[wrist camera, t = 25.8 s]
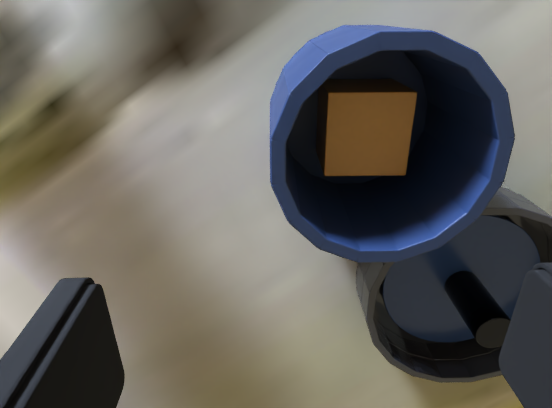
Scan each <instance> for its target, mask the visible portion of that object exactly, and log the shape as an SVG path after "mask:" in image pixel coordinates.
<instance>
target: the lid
mask: <svg viewBox="0 0 552 408" xmlns="http://www.w3.org/2000/svg"><path fill="white" fill-rule="evenodd" d="M538 263H540V256H539V252H538V249H537V247H536V245H535V243H534V241H533V240H532V238H531V237H530V235H529V234H528V233H527V232H526V231H525V230H524V229H522V228H521V227H520V226H519V225H517V224H516V223H514V222H513V221H511V220H509V219H507V218H505V217H502V216H499V215H481V216H480V217H479V218H478V219H477V220H476V221H475V222H474V223H473V224H471V225H470V226H469V227H467V228H466V229H465V230H463V231H462V232H461V233H459V234H458V235H457V236H455V237H454V238H453V239H451V240H450V241H448V242H447V243H446V244H444V245H443V246H442V247H440V248H438V249H435V250H432V251H429V252H426V253H423V254H420V255H418V256H415V257H412V258H409V259H406V260H403V261H399V262H395V263H394V264H393V265H392V266H391V267H390V268H389V270H388V272H387V274H386V276H385V278H384V280H383V282H382V289H381V290H382V298H383V301H384V305H385V307H386V309H387V312H388V314H389V315H390V317H391V318H392V320H393V321H394V322H395V323H396V324H397V325H398V326H399V327H400V328H402V329H403V330H404V331H406V332H407V333H409V334H411V335H413V336H415V337H418V338H420V339H424V340H428V341H434V342H458V341H465V340H469V339H473V338H475V339H476V341H477V342H478V343H479V344H480V345H481V346H484V347H487V348H495V347H499V346H502V345H503V343H504V339H505V336H506V333H507V330H508V327H509V324H510V321H511V318H512V314H513V311H514V308H515V305H516V302H517V299H518V296H519V293H520V289H521V286H522V283H523V280H524V277H525V274H526V273H527V272H528V271H529V270H532V268H533V266H534V265H536V264H538Z"/></svg>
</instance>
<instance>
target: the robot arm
mask: <svg viewBox="0 0 552 408" xmlns="http://www.w3.org/2000/svg"><path fill="white" fill-rule="evenodd" d="M499 367H500V370H501V373H502V374H503V376H504V378H505V379H506V381H507V382H508V384H509V385H510V387H511V388H512V390H513V391H514V393H515V394H516V396H517V397H518V399H519V400H520V402H521V403H522V405H523V407H524V408H552V263H538V264H536V265H534V266H533V268H532V270H529V271H528V272H527V273H526V274H525V277H524V280H523V283H522V286H521V289H520V293H519V296H518V299H517V302H516V305H515V308H514V311H513V314H512V318H511V321H510V324H509V327H508V330H507V333H506V336H505V339H504V343H503V346H502V349H501V352H500V355H499ZM123 386H124V369H123V365H122V361H121V357H120V353H119V350H118V346H117V342H116V338H115V334H114V330H113V326H112V322H111V318H110V314H109V311H108V307H107V303H106V299H105V295H104V291H103V288H102V286H101V285H100V284H95V283H94V281H93V280H92V278H64V279H61V280H60V281H59V282H58V283H57V284H56V286H55V287H54V288H53V290H52V291H51V292H50V294H49V295H48V296H47V298H46V299H45V301H44V302H43V303H42V305H41V306H40V307H39V309H38V310H37V311H36V313H35V314H34V316H33V317H32V318H31V320H30V321H29V322H28V324H27V325H26V326H25V328H24V329H23V331H22V332H21V333H20V335H19V336H18V337H17V339H16V340H15V341H14V343H13V344H12V346H11V347H10V348H9V350H8V351H7V352H6V353H5V354H4V356H3V357H2V358H1V360H0V408H116V406H117V404H118V401H119V398H120V395H121V392H122V390H123Z"/></svg>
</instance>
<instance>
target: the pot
mask: <svg viewBox="0 0 552 408" xmlns="http://www.w3.org/2000/svg"><path fill="white" fill-rule="evenodd" d="M327 79H394V80H396V81H397V82H399V83H401V84H403V85H405V86H407V87H409V88H411V89H412V90H414V91H416V92H417V99H416V106H415V113H414V120H413V127H412V134H411V141H410V148H409V155H408V162H407V169H406V175H396V176H324V174H323V171H322V168H321V165H320V162H319V159H318V156H317V153H316V133H317V107H318V88H319V87H320V86H321V85H322V84H323V83H324V82H325V81H326V80H327ZM514 137H515V134H514V128H513V122H512V116H511V110H510V104H509V98H508V93H507V92H506V89H505V87H504V86H503V85H502V83H501V82H500V81H499V79H498V78H497V77H496V75H495V74H494V73H493V71H492V70H491V69H490V67H489V66H488V64H487V63H486V62H485V60H484V59H483V58H482V56H481V55H480V54H478V52H477V51H475V50H472V49H470V48H468V47H466V46H464V45H462V44H460V43H458V42H456V41H454V40H452V39H450V38H447V37H445V36H443V35H441V34H439V33H437V32H435V31H430V30H420V29H410V28H400V27H391V26H381V25H344V26H340V27H338V28H336V29H334V30H331V31H328V32H326V33H324V34H322V35H320V36H318V37H316V38H314V39H311V40H310V41H308V42H307V43H306V44H305V45H304V46H303V47H302V48H301V49H300V50H299V51H298V52H297V53H296V54H295V55H294V56H293V57H292V58H291V60H290V61H289V62H288V63H287V64H286V65H285V66H284V68H283V70H282V72H281V75H280V77H279V79H278V81H277V83H276V87H275V90H274V92H273V95H272V97H271V101H270V182H271V186H272V189H273V191H274V193H275V195H276V197H277V199H278V202H279V204H280V206H281V208H282V210H283V212H284V215H285V217H286V219H287V221H288V222H289V223H290V224H291V225H292V226H293V227H294V228H295V229H296V230H298V231H299V232H300V233H301V234H302V235H303V236H304V237H305V238H307V239H308V240H309V241H310V242H311V243H312V244H313V245H315V246H316V247H317V248H319V249H320V250H323V251H326V252H329V253H332V254H335V255H337V256H340V257H343V258H346V259H349V260H352V261H355V262H399V261H403V260H406V259H409V258H412V257H415V256H418V255H420V254H423V253H426V252H429V251H432V250H435V249H438V248H440V247H442V246H443V245H444V244H446V243H447V242H448V241H450V240H451V239H453V238H454V237H455V236H457V235H458V234H459V233H461V232H462V231H463V230H465V229H466V228H467V227H469V226H470V225H471V224H473V223H474V222H475V221H476V220H477V219H478V218H479V217H480V215H481V214H482V212H483V211H484V209H485V208H486V207H487V205H488V204H489V202H490V201H491V199H492V198H493V197H494V195H495V194H496V192H497V191H498V189H499V188H500V187H501V185H502V182H504V179H505V175H506V171H507V167H508V163H509V159H510V155H511V151H512V147H513V143H514V140H515V138H514Z"/></svg>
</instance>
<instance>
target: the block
mask: <svg viewBox="0 0 552 408" xmlns="http://www.w3.org/2000/svg"><path fill="white" fill-rule="evenodd" d="M416 99H417V92H416V91H414V90H412V89H411V88H409V87H407V86H405V85H403V84H401V83H399V82H397V81H396V80H394V79H327V80H326V81H325V82H324V83H323V84H322V85H321V86H320V87H319V88H318V107H317V133H316V153H317V156H318V159H319V162H320V165H321V168H322V171H323V174H324V176H396V175H406V169H407V162H408V155H409V148H410V141H411V134H412V127H413V120H414V113H415V106H416Z"/></svg>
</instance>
